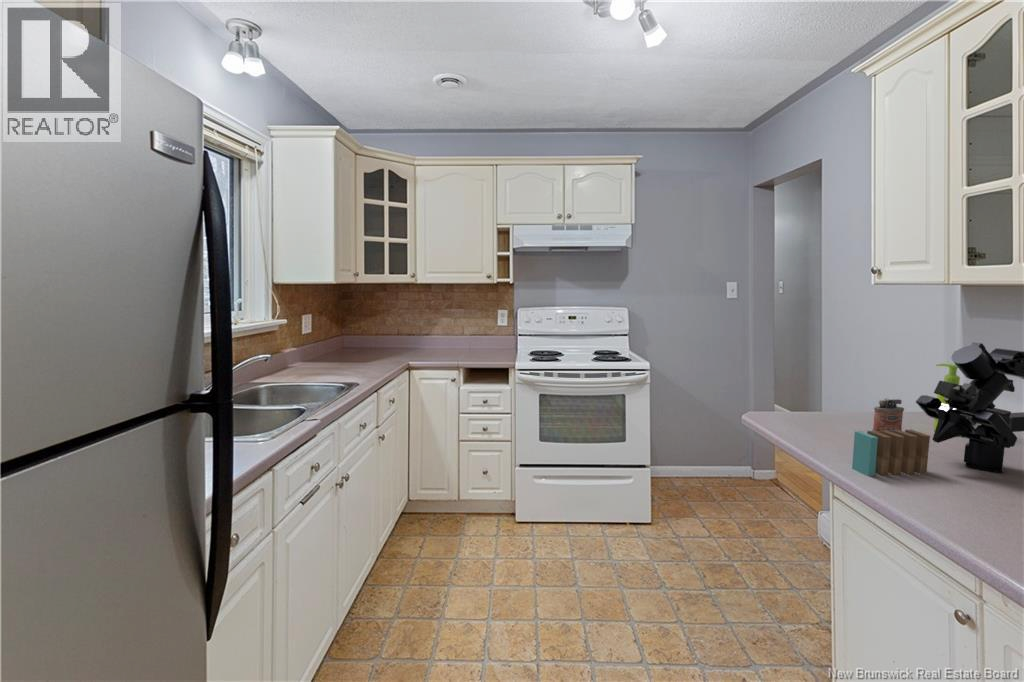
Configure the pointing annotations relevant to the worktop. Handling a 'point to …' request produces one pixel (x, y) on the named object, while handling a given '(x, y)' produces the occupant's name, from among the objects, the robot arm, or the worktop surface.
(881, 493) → the worktop surface
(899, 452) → the domino
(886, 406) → the red tin can
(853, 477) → the worktop surface
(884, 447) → the domino
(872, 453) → the domino
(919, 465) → the domino
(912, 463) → the domino
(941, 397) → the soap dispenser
